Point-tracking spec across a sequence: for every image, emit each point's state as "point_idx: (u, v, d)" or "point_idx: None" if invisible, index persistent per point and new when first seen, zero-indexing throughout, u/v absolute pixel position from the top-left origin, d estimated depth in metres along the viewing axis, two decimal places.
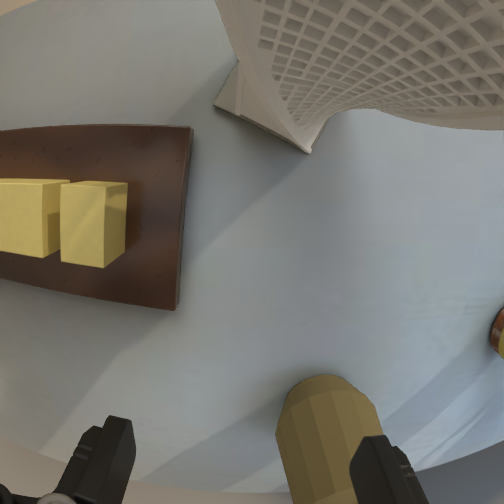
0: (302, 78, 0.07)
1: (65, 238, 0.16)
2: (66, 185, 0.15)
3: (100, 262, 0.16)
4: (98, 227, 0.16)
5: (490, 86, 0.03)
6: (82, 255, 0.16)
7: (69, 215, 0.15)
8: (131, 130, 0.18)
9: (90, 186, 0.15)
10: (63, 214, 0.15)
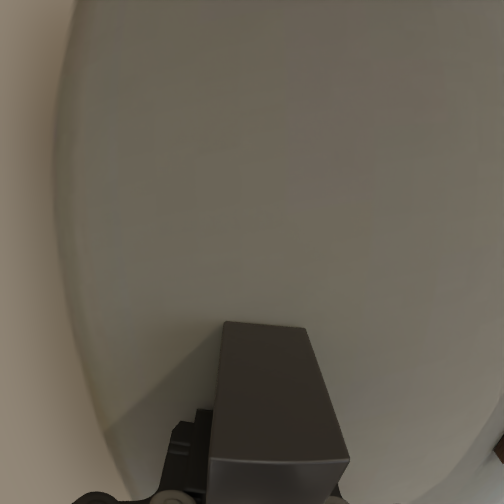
0: None
1: None
2: None
3: None
4: None
5: None
6: None
7: None
8: None
9: None
10: None
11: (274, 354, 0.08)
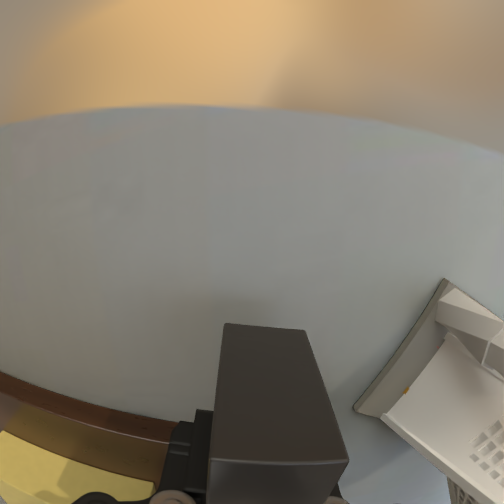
0: None
1: None
2: None
3: None
4: None
5: None
6: None
7: None
8: None
9: None
10: None
11: (273, 355, 0.08)
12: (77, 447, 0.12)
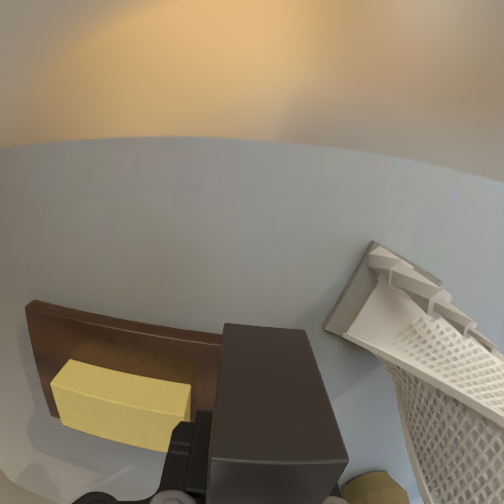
0: None
1: None
2: None
3: None
4: None
5: None
6: None
7: None
8: None
9: None
10: None
11: (273, 355, 0.08)
12: (137, 359, 0.21)
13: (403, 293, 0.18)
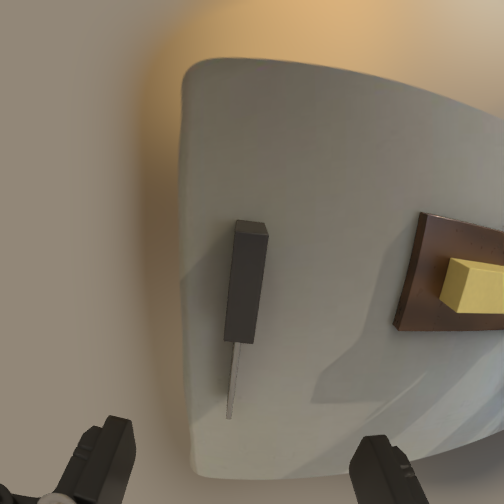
0: None
1: None
2: None
3: None
4: None
5: None
6: None
7: None
8: None
9: None
10: None
11: (252, 224, 0.26)
12: (490, 250, 0.27)
13: None
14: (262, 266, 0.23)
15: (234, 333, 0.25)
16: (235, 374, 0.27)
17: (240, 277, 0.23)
